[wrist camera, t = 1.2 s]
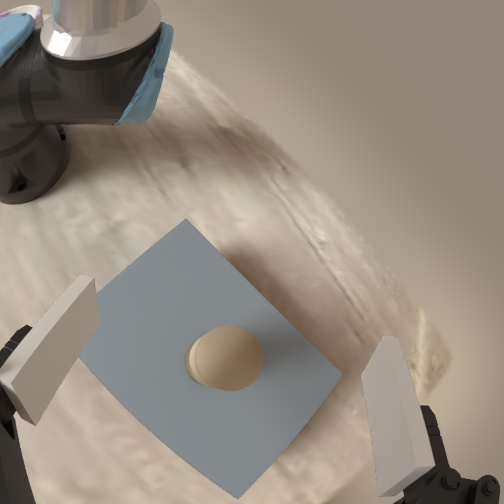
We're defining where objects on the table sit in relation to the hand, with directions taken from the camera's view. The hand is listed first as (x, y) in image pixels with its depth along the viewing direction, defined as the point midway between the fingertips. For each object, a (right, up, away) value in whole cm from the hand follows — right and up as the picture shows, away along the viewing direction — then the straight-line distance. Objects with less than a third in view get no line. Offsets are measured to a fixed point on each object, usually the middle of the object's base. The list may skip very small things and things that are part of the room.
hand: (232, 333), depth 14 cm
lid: (-4, -7, +16) cm, 18 cm away
